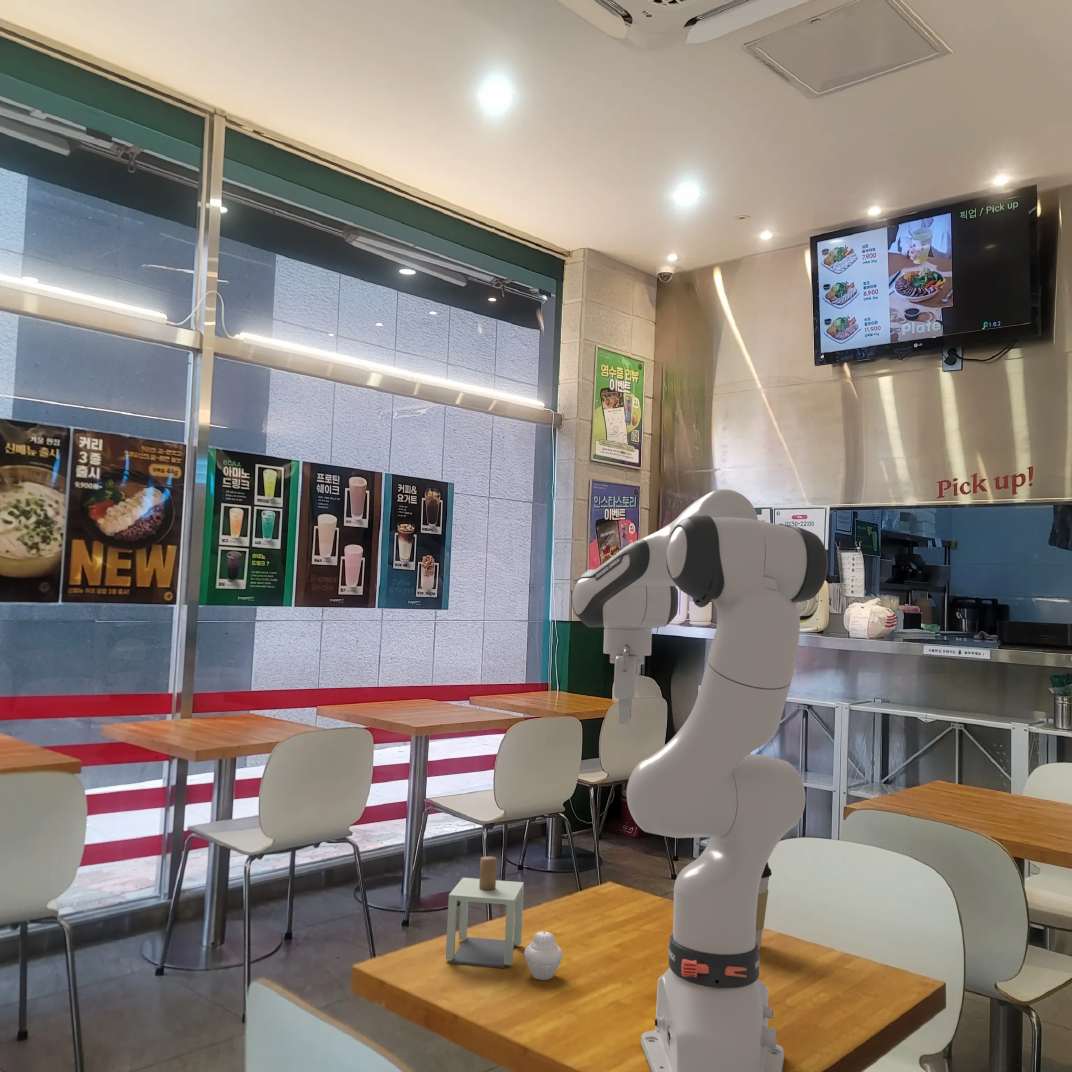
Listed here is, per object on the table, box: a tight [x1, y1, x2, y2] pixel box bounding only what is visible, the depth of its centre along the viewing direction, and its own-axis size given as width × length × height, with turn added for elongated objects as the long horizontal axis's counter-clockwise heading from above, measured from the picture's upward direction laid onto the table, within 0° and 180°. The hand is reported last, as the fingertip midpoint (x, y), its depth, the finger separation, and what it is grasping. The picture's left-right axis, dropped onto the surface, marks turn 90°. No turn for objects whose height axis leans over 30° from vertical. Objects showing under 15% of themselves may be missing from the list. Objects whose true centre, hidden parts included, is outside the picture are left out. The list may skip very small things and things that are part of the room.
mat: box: [450, 936, 516, 969], centre depth 157 cm, size 12×9×1 cm
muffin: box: [523, 931, 563, 981], centre depth 148 cm, size 6×6×7 cm
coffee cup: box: [756, 861, 773, 951], centre depth 166 cm, size 10×10×15 cm
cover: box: [445, 855, 525, 966], centre depth 157 cm, size 11×11×15 cm
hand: (625, 721), depth 168 cm, fingers open, 8 cm apart
